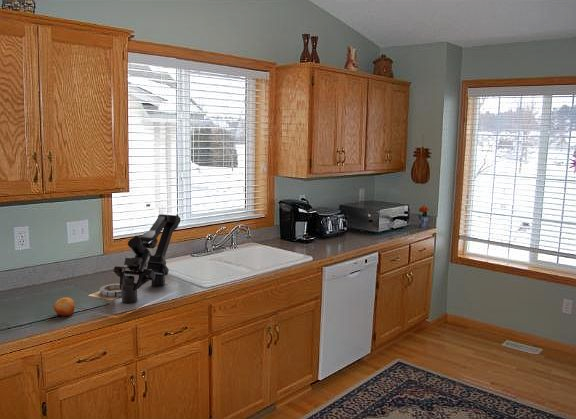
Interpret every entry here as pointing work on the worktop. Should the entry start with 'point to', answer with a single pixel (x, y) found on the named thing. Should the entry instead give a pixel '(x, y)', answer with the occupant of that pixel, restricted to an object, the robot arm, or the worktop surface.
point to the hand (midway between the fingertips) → (127, 289)
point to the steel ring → (107, 293)
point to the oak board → (102, 296)
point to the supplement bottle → (129, 290)
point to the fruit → (64, 306)
